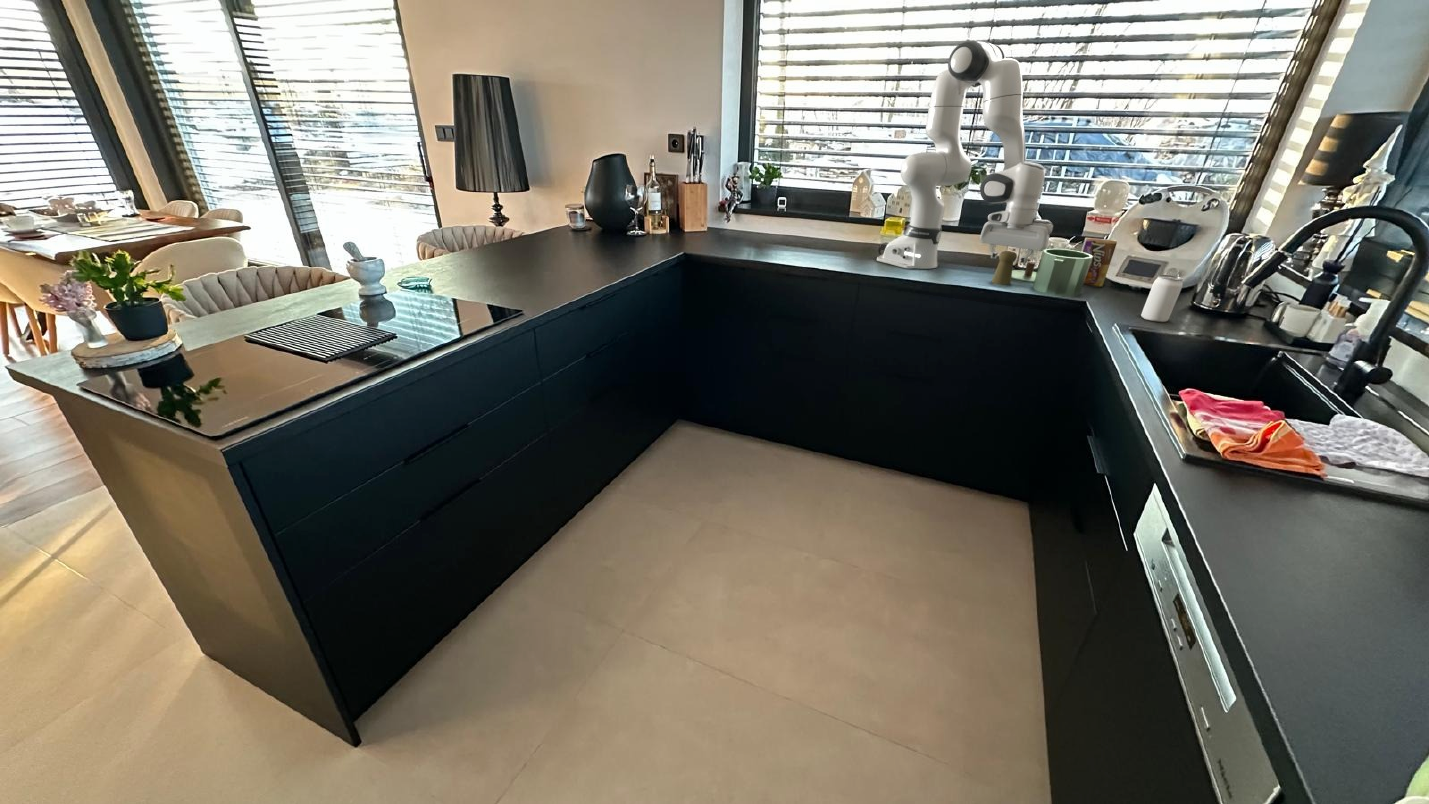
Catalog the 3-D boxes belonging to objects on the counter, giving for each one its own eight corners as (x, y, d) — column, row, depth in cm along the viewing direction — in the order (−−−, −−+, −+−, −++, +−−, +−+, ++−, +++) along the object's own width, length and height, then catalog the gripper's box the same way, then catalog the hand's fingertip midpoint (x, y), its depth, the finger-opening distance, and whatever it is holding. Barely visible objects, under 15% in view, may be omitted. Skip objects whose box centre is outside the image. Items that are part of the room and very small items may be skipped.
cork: (1006, 282, 191) (1015, 249, 186) (1013, 287, 186) (1022, 254, 180) (988, 281, 191) (996, 249, 186) (994, 286, 186) (1003, 253, 181)
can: (1157, 315, 162) (1173, 274, 156) (1173, 322, 156) (1191, 280, 151) (1135, 314, 162) (1151, 274, 156) (1150, 322, 156) (1167, 280, 150)
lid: (998, 278, 195) (1002, 262, 193) (1012, 271, 205) (1016, 255, 202) (1043, 286, 187) (1048, 270, 184) (1055, 279, 196) (1060, 262, 194)
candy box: (1100, 285, 190) (1116, 239, 183) (1102, 288, 187) (1118, 242, 180) (1070, 281, 194) (1085, 236, 187) (1071, 284, 190) (1086, 239, 183)
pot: (1024, 293, 179) (1035, 254, 174) (1041, 282, 192) (1052, 245, 186) (1071, 302, 171) (1084, 262, 165) (1086, 290, 184) (1099, 252, 178)
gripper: (1057, 219, 174) (1045, 264, 180) (990, 212, 186) (980, 254, 193) (1051, 221, 170) (1039, 267, 176) (983, 214, 182) (973, 256, 188)
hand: (1008, 260), depth 184 cm, fingers open, 8 cm apart
